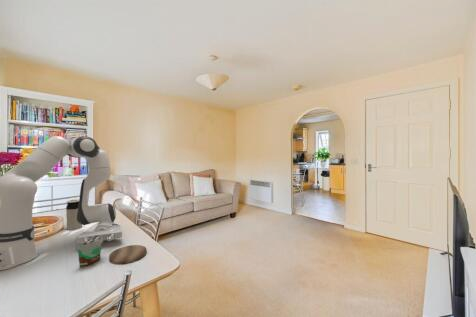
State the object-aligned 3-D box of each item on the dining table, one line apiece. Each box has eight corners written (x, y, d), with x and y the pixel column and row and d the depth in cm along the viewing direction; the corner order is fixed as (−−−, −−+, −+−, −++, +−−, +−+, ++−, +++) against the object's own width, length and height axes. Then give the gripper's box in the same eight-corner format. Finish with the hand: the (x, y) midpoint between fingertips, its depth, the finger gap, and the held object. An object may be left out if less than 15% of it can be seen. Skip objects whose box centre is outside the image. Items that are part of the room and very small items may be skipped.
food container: (91, 268, 92) (90, 245, 92) (77, 268, 93) (76, 245, 92) (109, 255, 105) (108, 234, 104) (96, 254, 105) (96, 234, 105)
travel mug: (74, 230, 137) (73, 202, 137) (63, 229, 139) (62, 201, 138) (85, 226, 145) (84, 199, 144) (75, 225, 147) (74, 198, 146)
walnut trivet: (106, 267, 94) (106, 263, 94) (111, 251, 108) (111, 248, 108) (146, 259, 100) (146, 256, 100) (146, 245, 115) (146, 242, 115)
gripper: (80, 228, 116) (72, 238, 103) (123, 223, 124) (120, 231, 111) (80, 240, 116) (72, 251, 104) (123, 234, 124) (121, 244, 112)
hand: (98, 241), depth 108 cm, fingers open, 8 cm apart
